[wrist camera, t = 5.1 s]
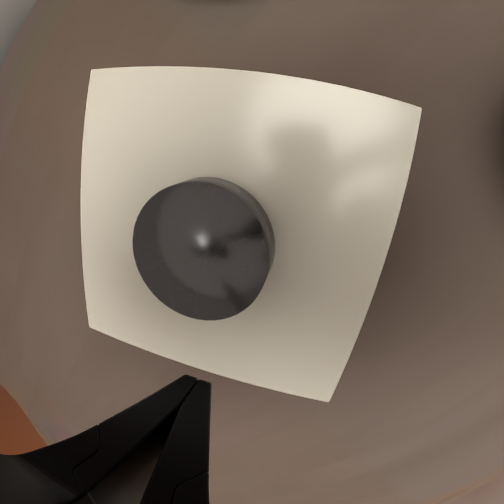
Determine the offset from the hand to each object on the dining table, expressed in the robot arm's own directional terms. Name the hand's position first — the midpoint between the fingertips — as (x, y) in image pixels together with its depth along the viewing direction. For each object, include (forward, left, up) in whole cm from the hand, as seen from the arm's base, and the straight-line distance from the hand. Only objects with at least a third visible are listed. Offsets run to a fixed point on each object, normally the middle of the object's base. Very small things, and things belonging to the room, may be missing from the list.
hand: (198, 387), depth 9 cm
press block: (+3, -1, -13) cm, 13 cm away
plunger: (+3, -1, -13) cm, 13 cm away
